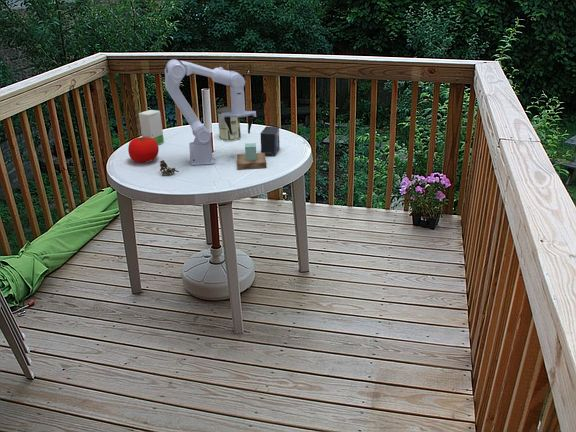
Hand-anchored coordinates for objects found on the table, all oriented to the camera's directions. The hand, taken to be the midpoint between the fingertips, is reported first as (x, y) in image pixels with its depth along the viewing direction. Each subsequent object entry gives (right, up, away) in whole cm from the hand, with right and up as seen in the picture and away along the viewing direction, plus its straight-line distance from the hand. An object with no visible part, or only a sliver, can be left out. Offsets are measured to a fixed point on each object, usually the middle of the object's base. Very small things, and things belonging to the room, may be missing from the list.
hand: (240, 133), depth 245 cm
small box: (+13, -7, +8) cm, 17 cm away
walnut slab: (+5, -13, -4) cm, 15 cm away
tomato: (-42, -11, +4) cm, 43 cm away
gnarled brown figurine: (-28, -19, -11) cm, 35 cm away
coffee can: (-7, +2, +29) cm, 29 cm away
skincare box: (-43, -2, +23) cm, 49 cm away
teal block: (+5, -11, -6) cm, 14 cm away
